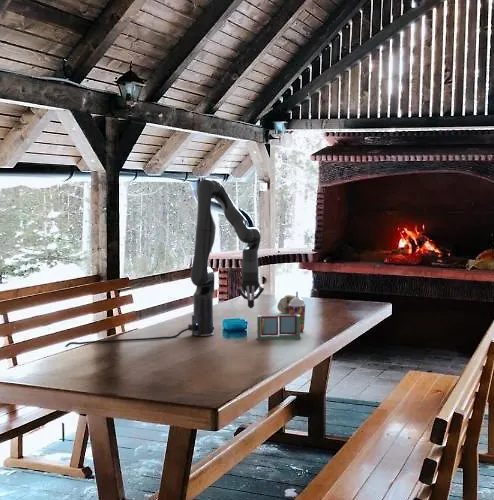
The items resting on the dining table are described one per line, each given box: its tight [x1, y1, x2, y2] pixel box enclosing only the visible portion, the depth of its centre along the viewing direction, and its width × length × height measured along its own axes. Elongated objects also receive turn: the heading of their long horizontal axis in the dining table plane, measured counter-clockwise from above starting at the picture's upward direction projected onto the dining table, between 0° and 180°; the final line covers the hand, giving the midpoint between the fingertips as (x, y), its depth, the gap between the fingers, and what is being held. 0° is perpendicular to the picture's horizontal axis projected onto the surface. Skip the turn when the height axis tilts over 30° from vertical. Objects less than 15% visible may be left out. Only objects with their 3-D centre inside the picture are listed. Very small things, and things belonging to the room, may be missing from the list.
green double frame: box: [256, 314, 301, 341], centre depth 345 cm, size 4×20×11 cm, turn 93°
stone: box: [277, 294, 296, 314], centre depth 421 cm, size 17×12×10 cm
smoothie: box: [288, 291, 306, 334], centre depth 361 cm, size 8×8×20 cm
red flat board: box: [261, 315, 279, 336], centre depth 342 cm, size 4×8×9 cm, turn 92°
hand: (250, 307), depth 339 cm, fingers closed
